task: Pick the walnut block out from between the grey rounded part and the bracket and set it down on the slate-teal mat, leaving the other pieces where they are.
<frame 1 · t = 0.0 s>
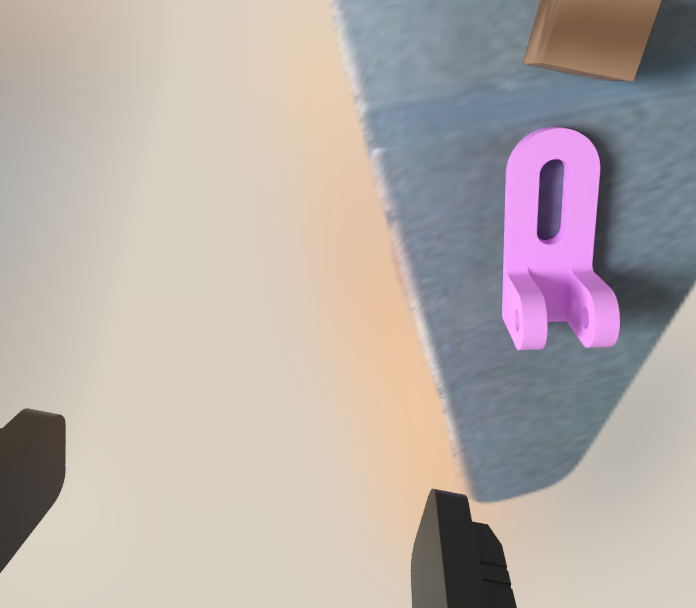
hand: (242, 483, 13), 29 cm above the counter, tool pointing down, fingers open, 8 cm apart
walnut block: (575, 27, 35), on the counter
bracket: (545, 225, 40), on the counter
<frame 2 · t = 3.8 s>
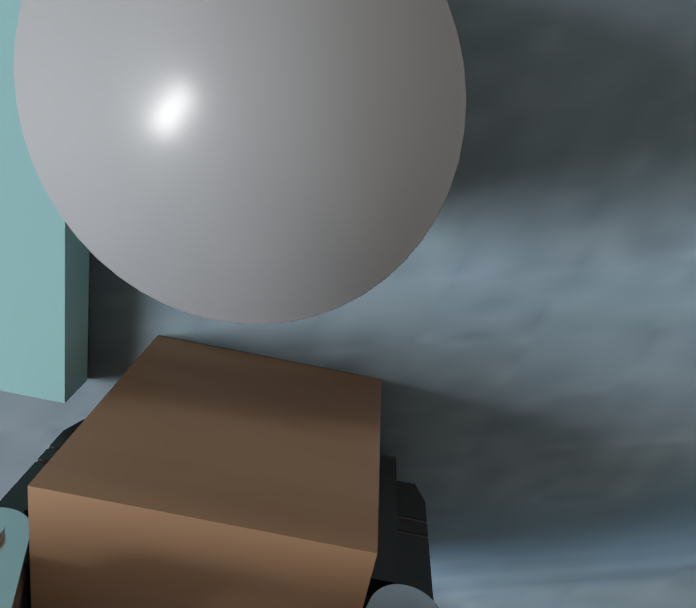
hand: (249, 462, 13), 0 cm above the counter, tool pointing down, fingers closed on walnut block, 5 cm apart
walnut block: (255, 450, 14), on the counter, touching gripper
grey rounded part: (308, 94, 11), on the counter
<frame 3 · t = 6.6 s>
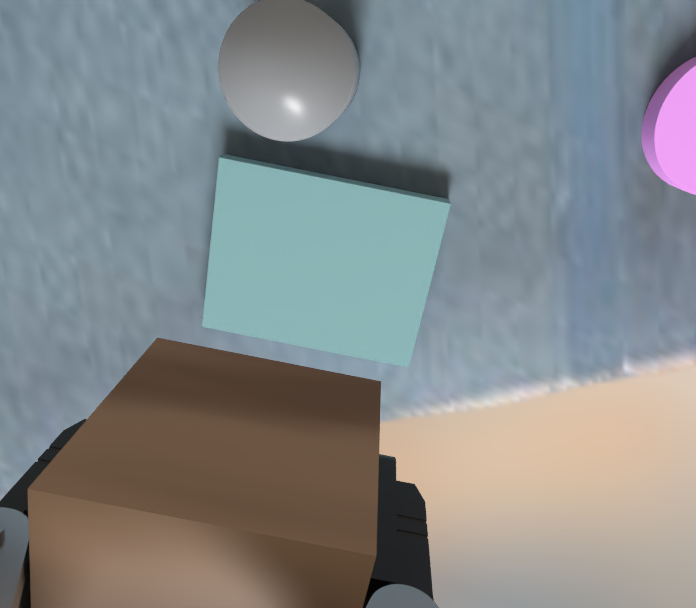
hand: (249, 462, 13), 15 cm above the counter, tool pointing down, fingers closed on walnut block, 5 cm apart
teal mat: (321, 261, 27), on the counter
walnut block: (255, 452, 14), point 15 cm above the counter, touching gripper
grey rounded part: (306, 71, 24), on the counter
when the fingers open (3 cm above the counter, at t = 9.6 s): walnut block drops 1 cm, resting on teal mat.
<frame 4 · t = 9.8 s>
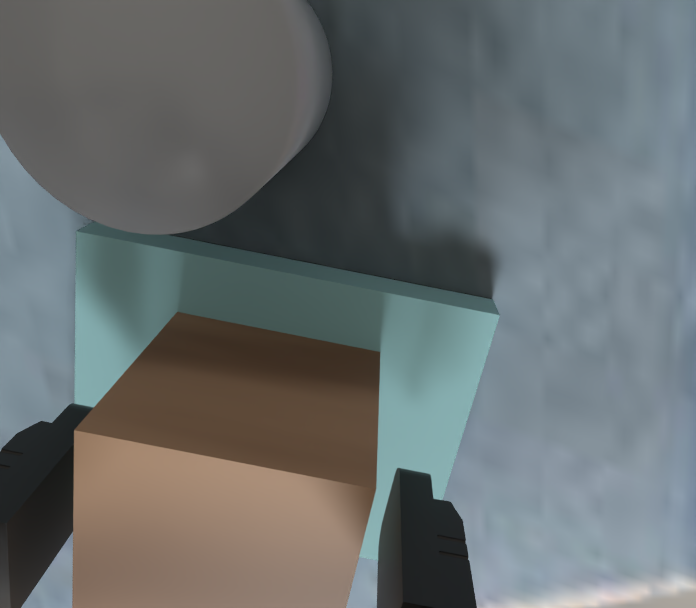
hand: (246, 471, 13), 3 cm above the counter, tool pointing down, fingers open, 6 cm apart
teal mat: (273, 397, 16), on the counter
walnut block: (265, 418, 15), point 1 cm above the counter, touching teal mat
grey rounded part: (233, 73, 13), on the counter
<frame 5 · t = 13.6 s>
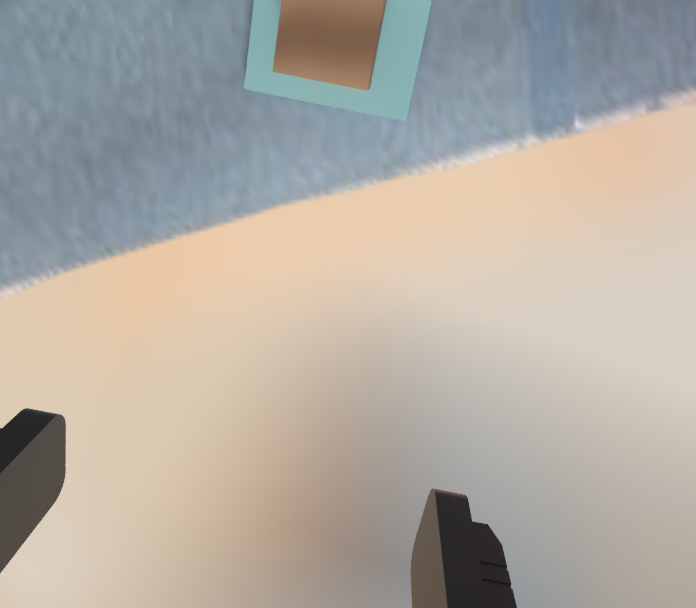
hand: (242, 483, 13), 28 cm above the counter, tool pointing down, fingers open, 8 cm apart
teal mat: (338, 34, 35), on the counter
walnut block: (336, 34, 34), point 1 cm above the counter, touching teal mat
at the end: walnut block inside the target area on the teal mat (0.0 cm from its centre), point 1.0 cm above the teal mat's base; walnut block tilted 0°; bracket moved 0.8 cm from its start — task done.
